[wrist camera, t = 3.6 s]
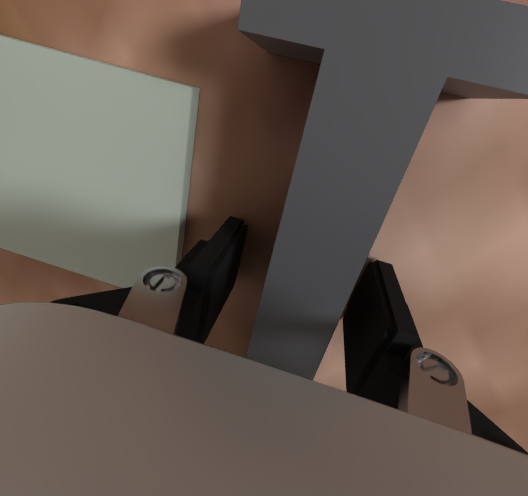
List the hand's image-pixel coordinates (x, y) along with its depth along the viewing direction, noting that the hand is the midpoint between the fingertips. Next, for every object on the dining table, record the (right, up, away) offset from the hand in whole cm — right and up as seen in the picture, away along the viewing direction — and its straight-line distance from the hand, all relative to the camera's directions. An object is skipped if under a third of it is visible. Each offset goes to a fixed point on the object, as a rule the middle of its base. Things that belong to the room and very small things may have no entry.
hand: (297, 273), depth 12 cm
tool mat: (-14, +5, +1) cm, 15 cm away
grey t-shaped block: (0, 0, 0) cm, 1 cm away
